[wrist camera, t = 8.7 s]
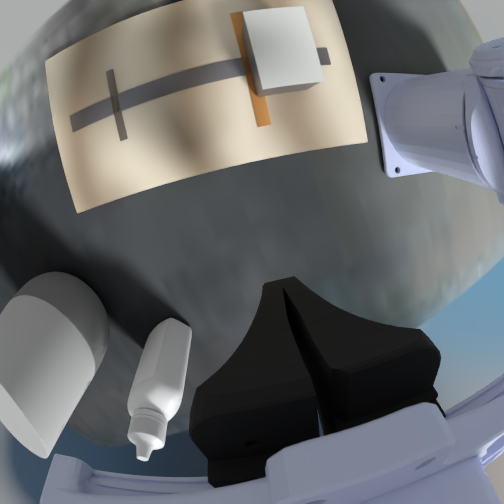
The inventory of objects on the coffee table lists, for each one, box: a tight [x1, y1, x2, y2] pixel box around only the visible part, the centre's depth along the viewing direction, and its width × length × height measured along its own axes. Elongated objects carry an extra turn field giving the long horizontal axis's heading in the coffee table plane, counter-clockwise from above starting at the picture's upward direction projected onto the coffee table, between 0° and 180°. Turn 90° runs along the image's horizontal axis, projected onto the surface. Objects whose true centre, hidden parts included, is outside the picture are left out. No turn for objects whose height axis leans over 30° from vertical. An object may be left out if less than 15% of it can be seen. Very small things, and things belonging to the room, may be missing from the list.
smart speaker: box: [0, 272, 109, 458], centre depth 15 cm, size 10×9×14 cm
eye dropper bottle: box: [127, 318, 192, 461], centre depth 18 cm, size 4×6×12 cm
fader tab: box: [242, 6, 325, 97], centre depth 12 cm, size 3×4×3 cm
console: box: [45, 0, 368, 213], centre depth 15 cm, size 20×12×2 cm, turn 102°
